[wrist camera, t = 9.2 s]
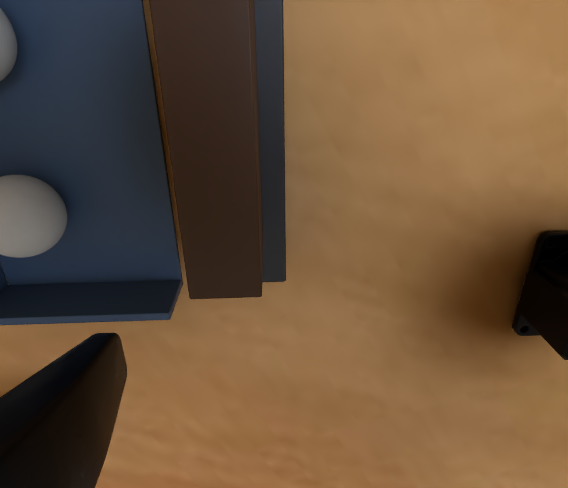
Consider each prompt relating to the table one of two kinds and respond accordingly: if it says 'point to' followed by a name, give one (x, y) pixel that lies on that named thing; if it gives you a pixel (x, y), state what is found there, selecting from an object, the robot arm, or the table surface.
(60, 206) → the paper ball
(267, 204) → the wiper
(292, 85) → the table surface
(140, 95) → the dustpan
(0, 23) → the white ball
